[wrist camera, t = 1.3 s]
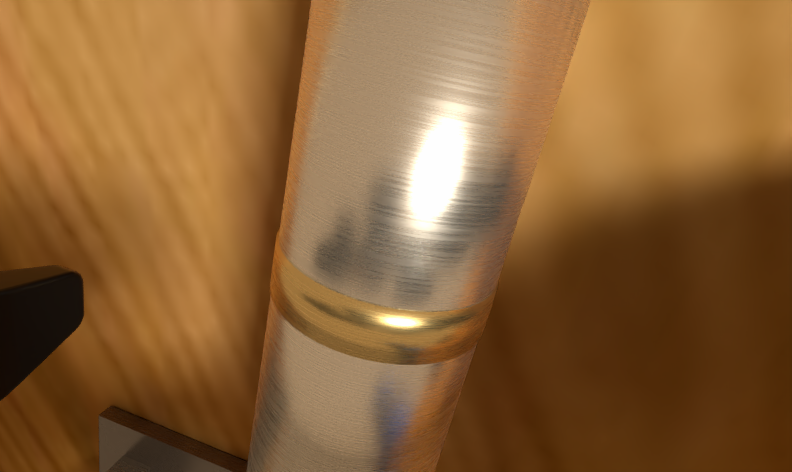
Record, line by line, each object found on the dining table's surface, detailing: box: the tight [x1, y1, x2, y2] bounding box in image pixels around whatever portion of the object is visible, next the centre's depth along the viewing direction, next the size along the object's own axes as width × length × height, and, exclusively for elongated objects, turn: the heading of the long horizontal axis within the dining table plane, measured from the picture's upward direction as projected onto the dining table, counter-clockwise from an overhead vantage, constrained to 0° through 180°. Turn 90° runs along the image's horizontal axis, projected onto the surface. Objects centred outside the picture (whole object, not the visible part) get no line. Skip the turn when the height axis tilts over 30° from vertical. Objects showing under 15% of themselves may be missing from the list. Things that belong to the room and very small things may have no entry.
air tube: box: [246, 0, 591, 472], centre depth 12 cm, size 5×16×5 cm, turn 168°
